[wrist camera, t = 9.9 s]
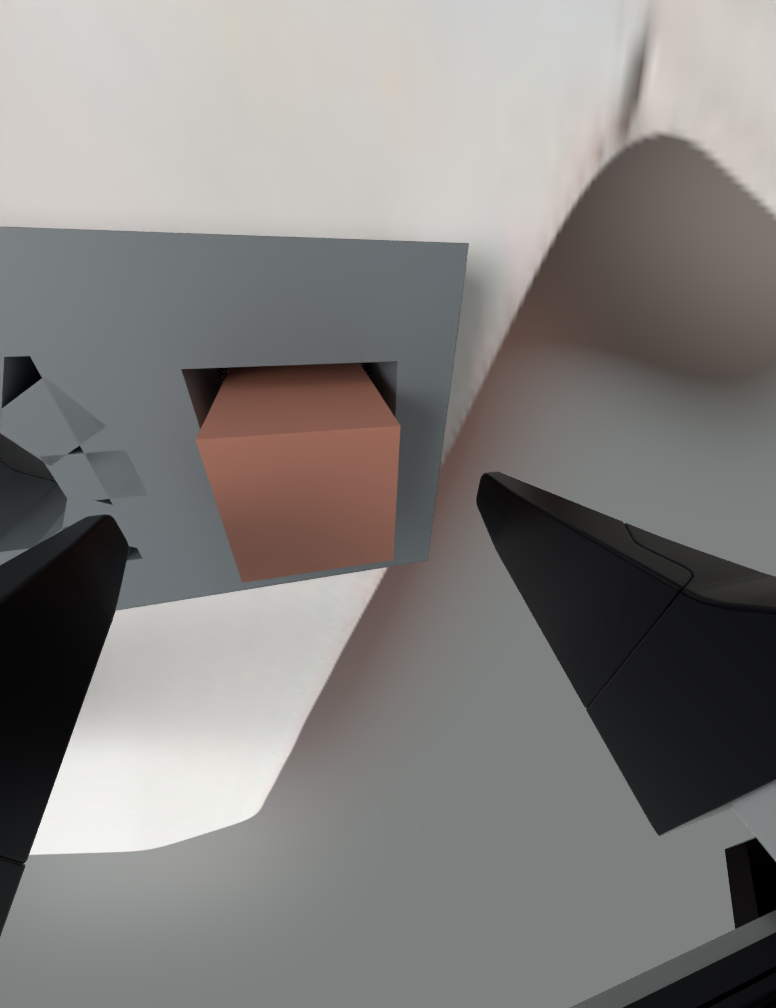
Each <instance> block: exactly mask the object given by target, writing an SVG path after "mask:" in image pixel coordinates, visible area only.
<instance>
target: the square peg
mask: <svg viewBox="0 0 776 1008" xmlns="http://www.w3.org/2000/svg"><path fill="white" fill-rule="evenodd" d="M196 443H197V446H198V449H199V452H200V455H201V458H202V461H203V464H204V467H205V470H206V473H207V476H208V480H209V483H210V486H211V489H212V492H213V495H214V498H215V501H216V504H217V507H218V510H219V513H220V516H221V519H222V522H223V525H224V528H225V532H226V535H227V538H228V541H229V544H230V547H231V550H232V553H233V556H234V559H235V562H236V565H237V568H238V571H239V574H240V577H241V581H242V583H245V582H251V581H258V580H264V579H271V578H278V577H284V576H291V575H298V574H304V573H311V572H317V571H324V570H331V569H337V568H344V567H351V566H357V565H364V564H370V563H377V562H384V561H390V560H393V556H394V537H395V518H396V500H397V481H398V463H399V444H400V424H399V423H398V421H397V420H396V418H395V416H394V415H393V413H392V412H391V410H390V409H389V407H388V406H387V404H386V403H385V401H384V400H383V398H382V396H381V395H380V393H379V392H378V390H377V389H376V387H375V386H374V384H373V383H372V381H371V380H370V378H369V376H368V375H367V373H366V372H365V370H364V369H363V367H362V366H361V364H360V363H335V364H308V365H281V366H254V367H230V369H229V371H228V373H227V375H226V377H225V379H224V382H223V384H222V386H221V388H220V390H219V392H218V394H217V396H216V398H215V400H214V402H213V404H212V407H211V409H210V411H209V413H208V415H207V417H206V419H205V421H204V423H203V425H202V427H201V429H200V432H199V434H198V436H197V438H196Z"/></svg>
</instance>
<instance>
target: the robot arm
mask: <svg viewBox="0 0 776 1008" xmlns="http://www.w3.org/2000/svg"><path fill="white" fill-rule="evenodd" d="M476 502H477V506H478V509H479V511H480V513H481V516H482V518H483V521H484V523H485V526H486V528H487V530H488V532H489V535H490V537H491V540H492V542H493V544H494V546H495V549H496V551H497V552H498V554H499V556H500V558H501V560H502V562H503V563H504V565H505V567H506V569H507V570H508V572H509V574H510V576H511V578H512V579H513V581H514V583H515V585H516V586H517V588H518V590H519V592H520V593H521V595H522V597H523V599H524V600H525V602H526V604H527V606H528V608H529V609H530V611H531V613H532V615H533V616H534V618H535V620H536V622H537V623H538V625H539V627H540V628H541V631H542V632H543V634H544V636H545V638H546V639H547V641H548V643H549V644H550V646H551V648H552V650H553V652H554V654H555V655H556V657H557V659H558V661H559V662H560V664H561V666H562V668H563V669H564V671H565V673H566V675H567V677H568V678H569V680H570V682H571V683H572V685H573V687H574V689H575V691H576V692H577V694H578V696H579V698H580V699H581V701H582V703H583V705H584V707H586V708H587V709H586V710H587V712H588V714H589V715H590V718H591V719H592V721H593V723H594V725H595V726H596V728H597V730H598V731H599V733H600V735H601V737H602V739H603V740H604V742H605V744H606V746H607V748H608V749H609V751H610V753H611V755H612V756H613V758H614V760H615V762H616V763H617V765H618V767H619V769H620V771H621V772H622V774H623V776H624V778H625V779H626V781H627V783H628V785H629V786H630V788H631V790H632V792H633V794H634V795H635V797H636V799H637V800H638V802H639V804H640V806H641V807H642V809H643V811H644V813H645V815H646V816H647V818H648V820H649V822H650V823H651V825H652V827H653V828H654V830H655V831H656V833H657V834H658V835H659V836H661V835H664V834H666V833H669V832H671V831H674V830H677V829H679V828H682V827H684V826H687V825H690V824H692V823H695V822H697V821H700V820H703V819H705V818H708V817H711V816H713V815H716V814H719V813H721V812H724V811H726V810H729V809H732V808H733V809H734V811H735V812H736V813H737V815H738V816H739V817H740V818H741V819H742V821H743V822H744V823H745V825H746V826H747V827H748V828H749V830H750V831H751V832H752V833H753V835H754V836H755V837H753V838H751V839H749V840H746V841H744V842H741V843H739V844H736V845H734V846H732V847H729V848H727V849H725V855H726V862H727V870H728V877H729V885H730V892H731V900H732V908H733V915H734V923H735V930H733V931H731V932H728V933H726V934H724V935H722V936H720V937H718V938H716V939H714V940H712V941H710V942H707V943H705V944H703V945H701V946H699V947H697V948H695V949H693V950H691V951H688V952H686V953H684V954H682V955H680V956H678V957H676V958H674V959H671V960H669V961H667V962H665V963H663V964H661V965H659V966H657V967H655V968H653V969H650V970H648V971H646V972H644V973H642V974H640V975H638V976H636V977H634V978H631V979H629V980H627V981H626V982H623V983H621V984H619V985H617V986H615V987H612V988H611V989H608V990H606V991H604V992H602V993H600V994H598V995H596V996H594V997H591V998H589V999H587V1000H585V1001H583V1002H581V1003H579V1004H577V1005H575V1006H573V1007H570V1008H776V577H775V576H772V575H768V574H765V573H762V572H759V571H756V570H753V569H750V568H747V567H745V566H741V565H739V564H736V563H733V562H730V561H727V560H725V559H722V558H719V557H716V556H713V555H710V554H707V553H704V552H701V551H699V550H696V549H693V548H690V547H687V546H684V545H682V544H679V543H676V542H674V541H671V540H668V539H665V538H663V537H660V536H658V535H655V534H652V533H650V532H647V531H644V530H642V529H639V528H637V527H635V526H632V525H629V524H627V523H626V524H624V523H623V522H622V521H619V520H617V519H614V518H612V517H609V516H607V515H604V514H602V513H599V512H597V511H594V510H592V509H589V508H587V507H584V506H582V505H579V504H577V503H574V502H572V501H569V500H567V499H564V498H562V497H560V496H557V495H554V494H552V493H550V492H547V491H544V490H542V489H540V488H537V487H535V486H532V485H530V484H527V483H524V482H522V481H520V480H517V479H515V478H512V477H510V476H507V475H505V474H502V473H500V472H490V473H484V474H483V475H482V476H481V479H480V484H479V489H478V493H477V500H476ZM128 553H129V545H128V542H127V540H126V538H125V536H124V534H123V533H122V531H121V529H120V527H119V526H118V524H117V522H116V520H115V519H114V518H113V517H112V516H111V515H108V514H103V515H94V516H88V517H85V518H83V519H81V520H80V521H78V522H76V523H74V524H73V525H71V526H69V527H67V528H65V529H64V530H62V531H60V532H58V533H57V534H55V535H53V536H51V537H50V538H48V539H46V540H44V541H42V542H41V543H39V544H37V545H35V546H34V547H32V548H30V549H28V550H26V551H25V552H23V553H21V554H19V555H18V556H16V557H14V558H12V559H10V560H9V561H7V562H5V563H3V564H2V565H0V936H1V933H2V930H3V927H4V924H5V922H6V919H7V916H8V913H9V910H10V908H11V905H12V902H13V899H14V896H15V894H16V891H17V888H18V885H19V882H20V879H21V877H22V874H23V871H24V868H25V864H24V863H25V862H26V861H27V859H28V856H29V853H30V850H31V848H32V845H33V842H34V839H35V836H36V834H37V831H38V828H39V825H40V822H41V820H42V817H43V814H44V811H45V808H46V805H47V803H48V800H49V797H50V794H51V791H52V789H53V786H54V783H55V780H56V777H57V775H58V772H59V769H60V766H61V763H62V760H63V758H64V755H65V752H66V749H67V746H68V744H69V741H70V738H71V735H72V732H73V730H74V727H75V724H76V721H77V718H78V716H79V713H80V710H81V707H82V704H83V701H84V699H85V696H86V693H87V690H88V687H89V685H90V682H91V679H92V676H93V673H94V671H95V668H96V665H97V662H98V659H99V656H100V654H101V651H102V648H103V645H104V642H105V640H106V637H107V634H108V631H109V628H110V626H111V623H112V620H113V617H114V614H115V611H116V607H117V603H118V599H119V594H120V590H121V585H122V580H123V576H124V571H125V567H126V562H127V557H128Z"/></svg>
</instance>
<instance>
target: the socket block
mask: <svg viewBox="0 0 776 1008" xmlns="http://www.w3.org/2000/svg"><path fill="white" fill-rule="evenodd" d="M468 245H469V243H444V242H416V241H388V240H360V239H332V238H304V237H276V236H248V235H220V234H192V233H165V232H137V231H109V230H81V229H53V228H25V227H0V433H1V434H2V435H4V436H5V437H7V438H8V439H10V440H11V441H13V442H14V443H16V444H17V445H19V446H20V447H22V448H23V449H25V450H26V451H28V452H29V453H31V454H32V455H34V456H35V457H37V458H38V459H40V460H41V461H43V462H44V463H45V465H46V466H47V468H48V470H49V471H50V473H51V474H52V476H53V477H54V479H55V480H56V482H54V481H50V480H46V479H42V478H39V477H35V476H31V475H27V474H23V473H19V472H16V471H14V470H13V469H11V468H9V467H8V466H6V465H5V464H3V463H1V462H0V565H2V564H3V563H5V562H7V561H9V560H10V559H12V558H14V557H16V556H18V555H19V554H21V553H23V552H25V551H26V550H28V549H30V548H32V547H34V546H35V545H37V544H39V543H41V542H42V541H44V540H46V539H48V538H50V537H51V536H53V535H55V534H57V533H58V532H60V531H62V530H64V529H65V528H67V527H69V526H71V525H73V524H74V523H76V522H78V521H80V520H81V519H83V518H85V517H88V516H94V515H103V514H108V515H111V516H112V517H113V518H114V519H115V520H116V522H117V524H118V526H119V527H120V529H121V531H122V533H123V534H124V536H125V538H126V540H127V542H128V545H129V553H128V557H127V562H126V567H125V571H124V576H123V580H122V585H121V590H120V594H119V599H118V603H117V607H116V610H122V609H128V608H134V607H141V606H147V605H153V604H159V603H165V602H172V601H178V600H184V599H190V598H197V597H203V596H209V595H215V594H222V593H228V592H234V591H240V590H247V589H253V588H259V587H265V586H272V585H278V584H284V583H290V582H297V581H303V580H309V579H315V578H322V577H328V576H334V575H340V574H347V573H353V572H359V571H365V570H371V569H378V568H384V567H390V566H396V565H402V564H409V563H415V562H421V561H427V560H428V556H429V547H430V540H431V532H432V524H433V517H434V509H435V501H436V493H437V486H438V478H439V470H440V462H441V455H442V447H443V439H444V431H445V424H446V416H447V408H448V400H449V392H450V385H451V377H452V369H453V361H454V354H455V346H456V338H457V330H458V323H459V315H460V307H461V299H462V291H463V284H464V276H465V268H466V260H467V253H468ZM362 362H371V381H372V383H373V384H374V386H375V387H376V389H377V390H378V392H379V393H380V395H381V396H382V398H383V400H384V401H385V403H386V404H387V406H388V407H389V409H390V410H391V412H392V413H393V415H394V416H395V418H396V420H397V421H398V423H399V424H400V444H399V463H398V481H397V500H396V518H395V537H394V556H393V560H390V561H384V562H377V563H370V564H364V565H357V566H351V567H344V568H337V569H331V570H324V571H317V572H311V573H304V574H298V575H291V576H284V577H278V578H271V579H264V580H258V581H251V582H245V583H242V581H241V577H240V574H239V571H238V568H237V565H236V562H235V559H234V556H233V553H232V550H231V547H230V544H229V541H228V538H227V535H226V532H225V528H224V525H223V522H222V519H221V516H220V513H219V510H218V507H217V504H216V501H215V498H214V495H213V492H212V489H211V486H210V483H209V480H208V476H207V473H206V470H205V467H204V464H203V461H202V458H201V455H200V452H199V449H198V446H197V443H196V438H197V436H198V434H199V432H200V429H201V427H202V425H203V423H204V421H205V419H206V417H207V415H208V413H209V411H210V409H211V407H212V404H213V402H214V400H215V398H216V396H217V394H218V392H219V390H220V388H221V386H222V385H221V381H220V377H219V373H218V370H217V368H226V367H254V366H281V365H308V364H335V363H362Z"/></svg>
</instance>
